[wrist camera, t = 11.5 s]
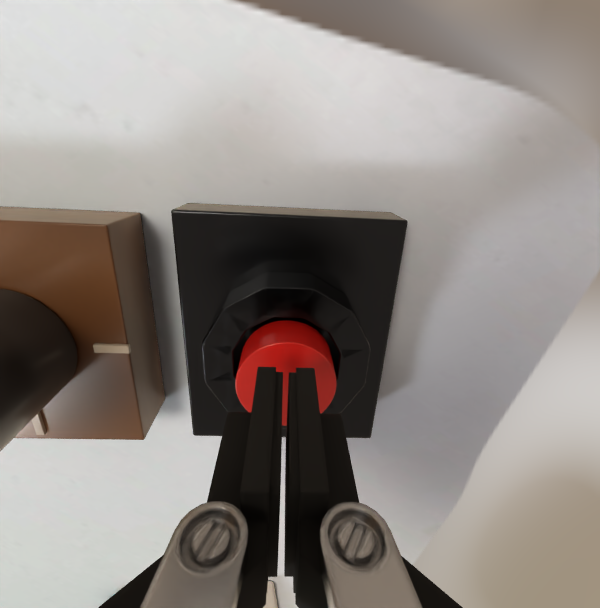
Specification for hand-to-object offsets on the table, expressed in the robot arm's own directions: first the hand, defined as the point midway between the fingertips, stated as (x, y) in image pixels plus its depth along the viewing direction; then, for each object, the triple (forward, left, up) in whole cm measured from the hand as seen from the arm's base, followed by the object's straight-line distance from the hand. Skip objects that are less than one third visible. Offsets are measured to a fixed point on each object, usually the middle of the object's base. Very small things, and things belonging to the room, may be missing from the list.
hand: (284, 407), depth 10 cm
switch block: (+1, 0, -7) cm, 7 cm away
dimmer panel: (+1, -11, -7) cm, 13 cm away
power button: (+1, 0, -3) cm, 3 cm away
